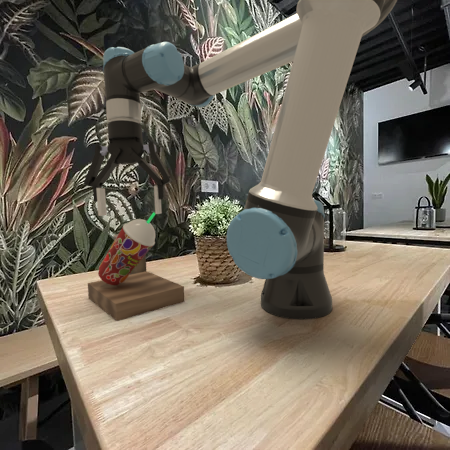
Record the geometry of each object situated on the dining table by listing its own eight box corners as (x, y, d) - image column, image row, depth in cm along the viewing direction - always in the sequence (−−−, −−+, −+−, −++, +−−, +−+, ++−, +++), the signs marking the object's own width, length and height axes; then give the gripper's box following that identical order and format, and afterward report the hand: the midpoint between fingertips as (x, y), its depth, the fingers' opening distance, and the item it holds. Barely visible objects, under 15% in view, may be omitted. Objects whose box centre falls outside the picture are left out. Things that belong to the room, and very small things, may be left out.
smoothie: (112, 294, 65) (161, 225, 62) (85, 271, 66) (132, 202, 63) (130, 283, 74) (174, 222, 70) (106, 263, 74) (148, 202, 71)
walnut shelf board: (184, 302, 68) (183, 286, 67) (116, 323, 57) (115, 304, 57) (147, 284, 83) (146, 271, 83) (88, 298, 73) (87, 283, 72)
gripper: (181, 124, 69) (185, 212, 71) (81, 129, 71) (87, 215, 72) (174, 116, 62) (179, 213, 64) (62, 121, 63) (70, 217, 65)
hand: (130, 214), depth 68 cm, fingers open, 13 cm apart
